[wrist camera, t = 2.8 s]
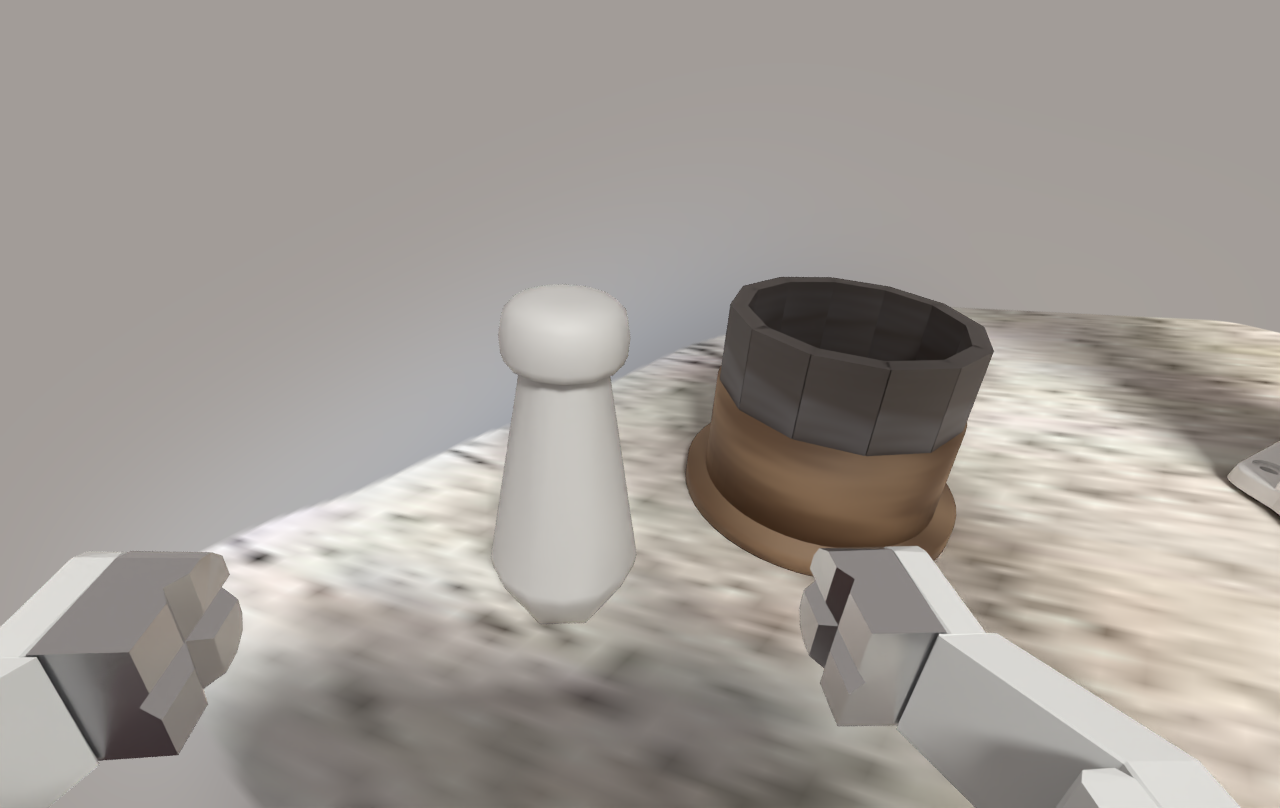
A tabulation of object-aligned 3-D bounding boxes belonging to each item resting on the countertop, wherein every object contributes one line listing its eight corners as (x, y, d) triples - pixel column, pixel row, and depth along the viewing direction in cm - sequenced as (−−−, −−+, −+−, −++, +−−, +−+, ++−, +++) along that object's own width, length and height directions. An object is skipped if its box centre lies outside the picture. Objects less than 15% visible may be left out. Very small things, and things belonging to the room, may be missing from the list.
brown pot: (789, 400, 42) (819, 257, 37) (996, 505, 33) (1072, 335, 28) (633, 468, 34) (646, 296, 29) (852, 633, 25) (925, 423, 20)
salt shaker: (658, 579, 27) (689, 296, 20) (575, 671, 22) (582, 348, 16) (555, 524, 29) (555, 259, 23) (464, 597, 25) (432, 295, 19)
